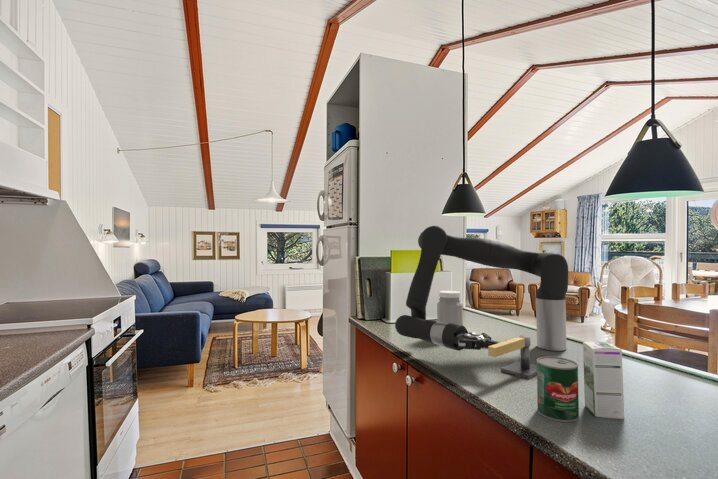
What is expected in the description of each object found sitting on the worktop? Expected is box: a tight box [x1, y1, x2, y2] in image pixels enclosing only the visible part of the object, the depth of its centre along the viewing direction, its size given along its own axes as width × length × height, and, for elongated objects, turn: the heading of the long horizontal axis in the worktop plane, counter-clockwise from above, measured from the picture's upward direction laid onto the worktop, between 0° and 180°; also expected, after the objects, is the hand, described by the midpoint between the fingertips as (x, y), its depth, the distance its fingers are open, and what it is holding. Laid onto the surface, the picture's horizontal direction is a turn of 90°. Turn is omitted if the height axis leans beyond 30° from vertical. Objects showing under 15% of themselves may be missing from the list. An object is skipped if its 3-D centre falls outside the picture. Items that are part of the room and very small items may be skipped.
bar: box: [487, 335, 531, 358], centre depth 102 cm, size 18×3×2 cm, turn 128°
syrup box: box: [582, 341, 625, 420], centre depth 80 cm, size 6×6×14 cm
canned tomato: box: [536, 356, 580, 423], centre depth 79 cm, size 8×8×11 cm
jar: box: [436, 290, 464, 326], centre depth 146 cm, size 10×10×18 cm
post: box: [500, 346, 537, 380], centre depth 106 cm, size 10×8×7 cm
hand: (500, 346), depth 101 cm, fingers closed
